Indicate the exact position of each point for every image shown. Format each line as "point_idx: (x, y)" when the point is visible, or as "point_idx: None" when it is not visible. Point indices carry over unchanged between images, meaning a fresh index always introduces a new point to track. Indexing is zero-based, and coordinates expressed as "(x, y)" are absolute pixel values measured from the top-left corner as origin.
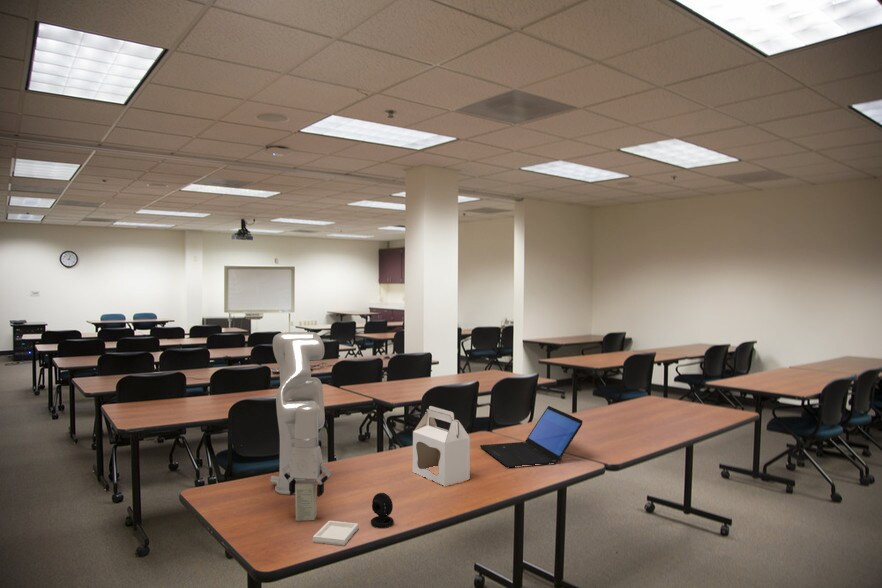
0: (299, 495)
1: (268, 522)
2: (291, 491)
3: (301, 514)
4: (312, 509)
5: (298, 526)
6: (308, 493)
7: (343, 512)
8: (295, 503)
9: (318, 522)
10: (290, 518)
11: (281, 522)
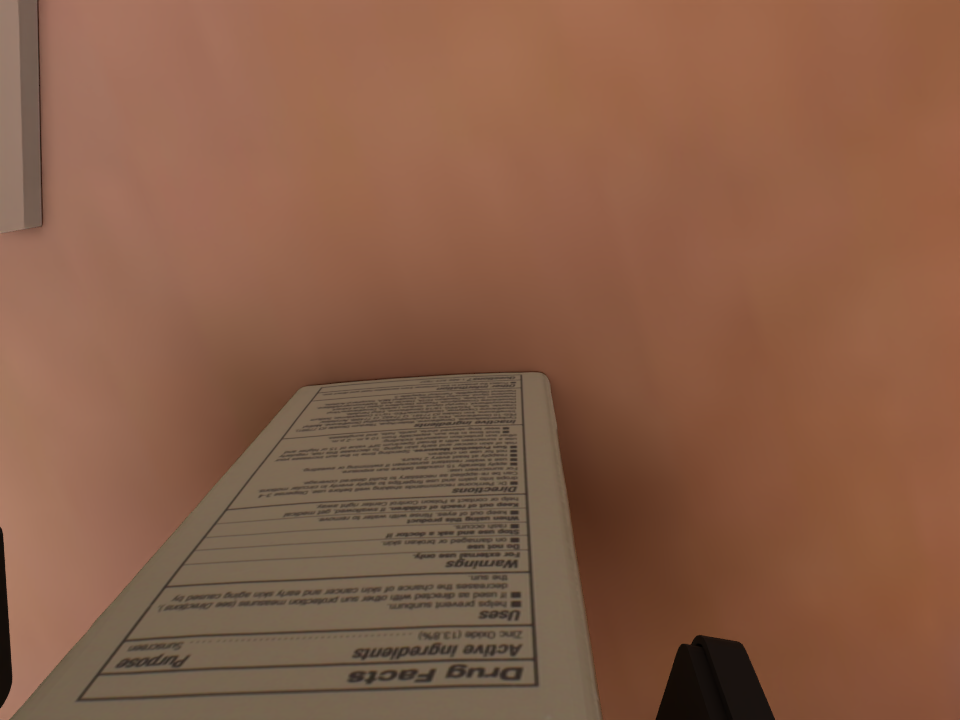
0: (466, 572)
1: (929, 299)
2: (718, 701)
3: (458, 403)
4: (268, 444)
5: (453, 190)
6: (219, 610)
7: (40, 631)
8: (564, 485)
9: (225, 338)
10: (639, 443)
11: (734, 310)
